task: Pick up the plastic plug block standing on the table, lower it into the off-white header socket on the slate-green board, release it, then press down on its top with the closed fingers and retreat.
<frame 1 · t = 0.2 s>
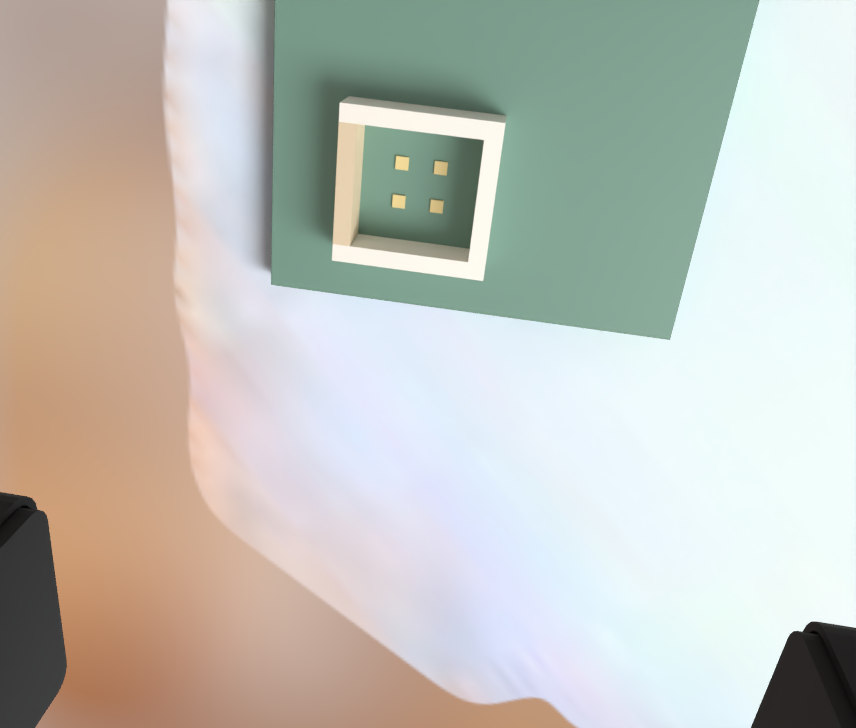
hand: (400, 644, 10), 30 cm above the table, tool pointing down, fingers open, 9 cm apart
board: (490, 144, 37), on the table
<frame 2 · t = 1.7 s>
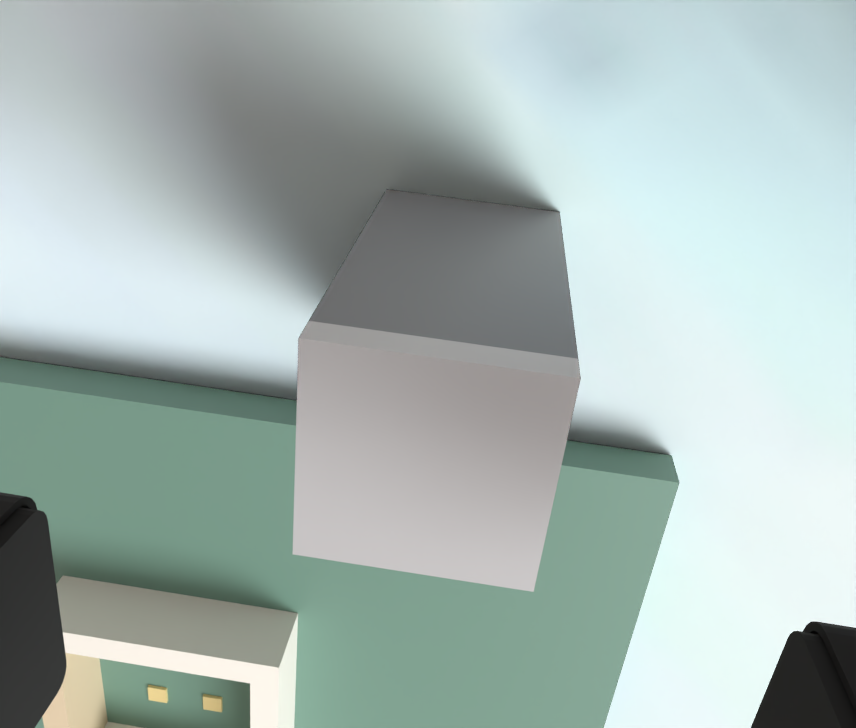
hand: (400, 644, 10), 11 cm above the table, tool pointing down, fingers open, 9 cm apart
board: (289, 618, 25), on the table
plug: (462, 281, 19), on the table
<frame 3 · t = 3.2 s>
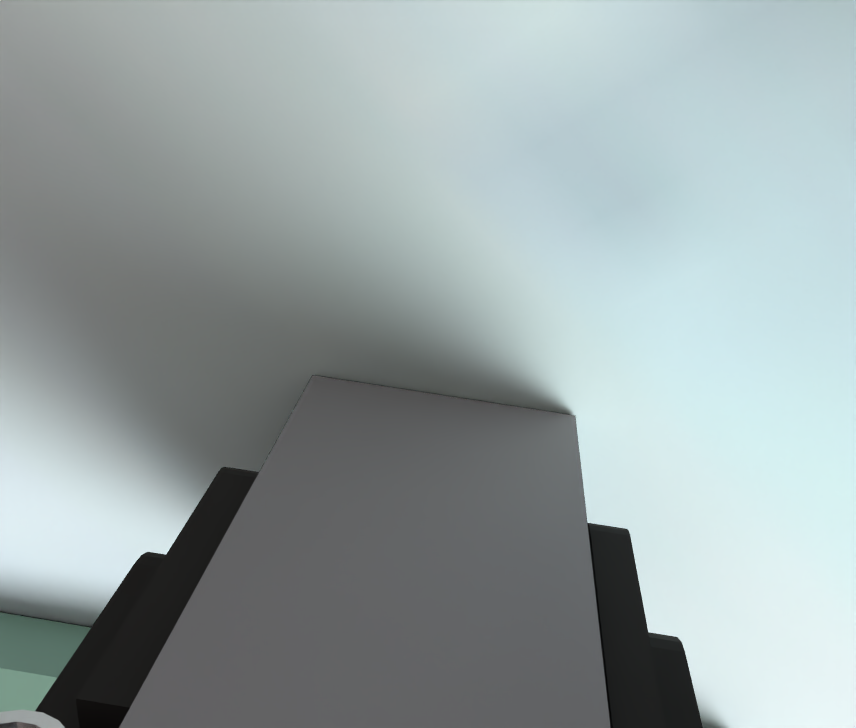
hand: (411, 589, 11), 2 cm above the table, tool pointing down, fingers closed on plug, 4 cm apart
plug: (427, 503, 13), on the table, touching gripper
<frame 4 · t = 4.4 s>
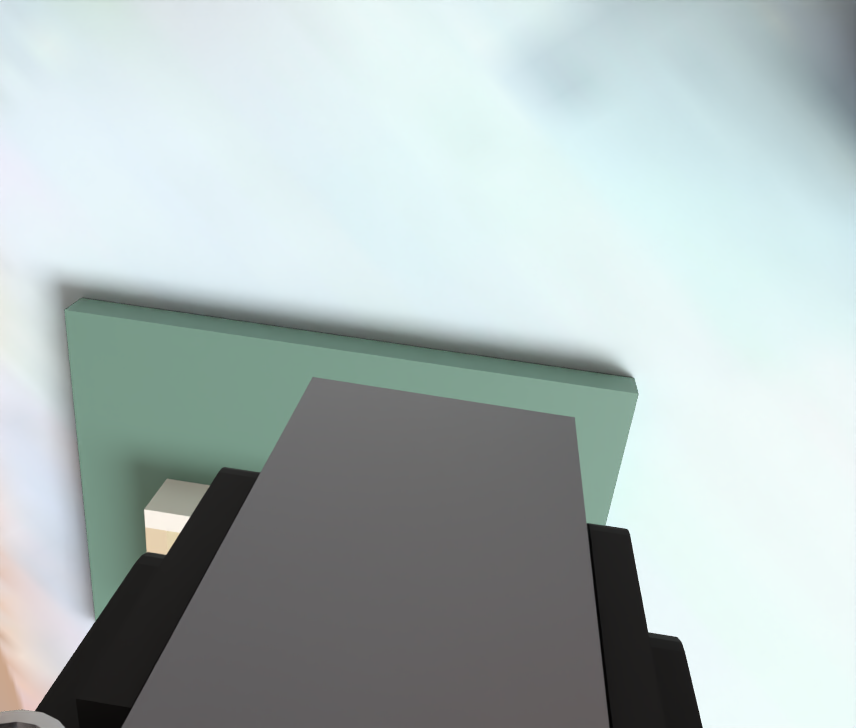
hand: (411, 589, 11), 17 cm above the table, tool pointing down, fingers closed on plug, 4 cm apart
board: (339, 519, 32), on the table
plug: (427, 504, 13), point 15 cm above the table, touching gripper
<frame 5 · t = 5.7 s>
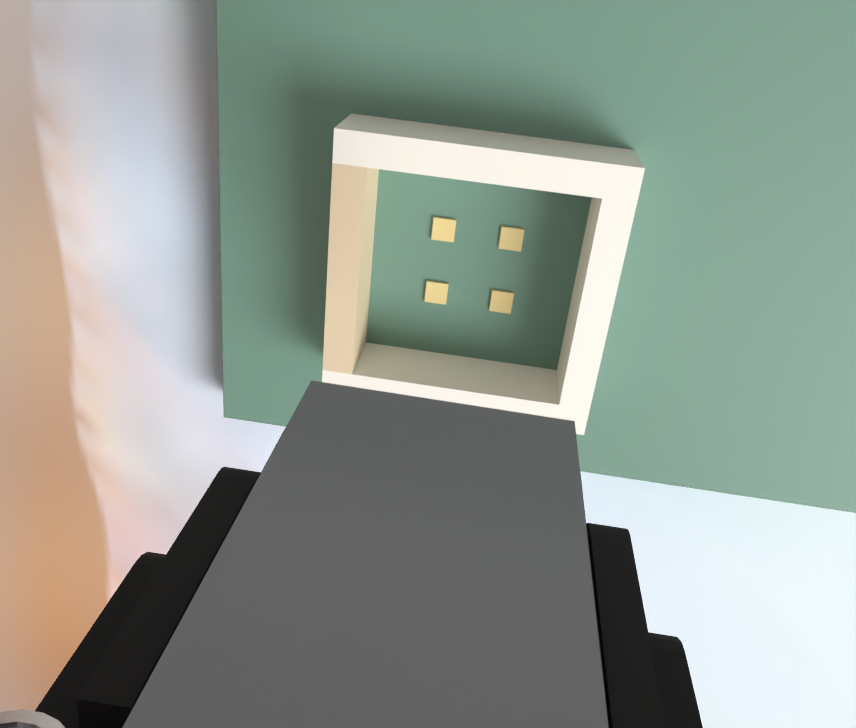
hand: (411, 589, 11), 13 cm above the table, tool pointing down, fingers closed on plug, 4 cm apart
board: (596, 195, 21), on the table
plug: (426, 508, 13), point 11 cm above the table, touching gripper
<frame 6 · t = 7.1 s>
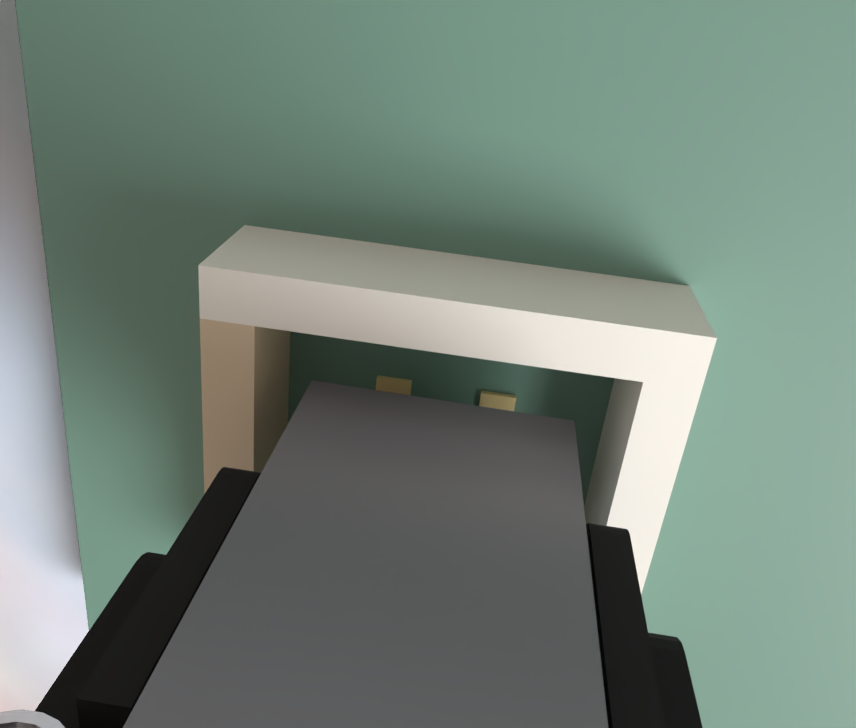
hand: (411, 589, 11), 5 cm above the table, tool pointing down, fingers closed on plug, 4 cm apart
board: (624, 339, 14), on the table
plug: (426, 508, 13), point 3 cm above the table, touching gripper
when the fingers open (4 cm above the table, at t = 7.6 s): plug stays where it is, resting on board.
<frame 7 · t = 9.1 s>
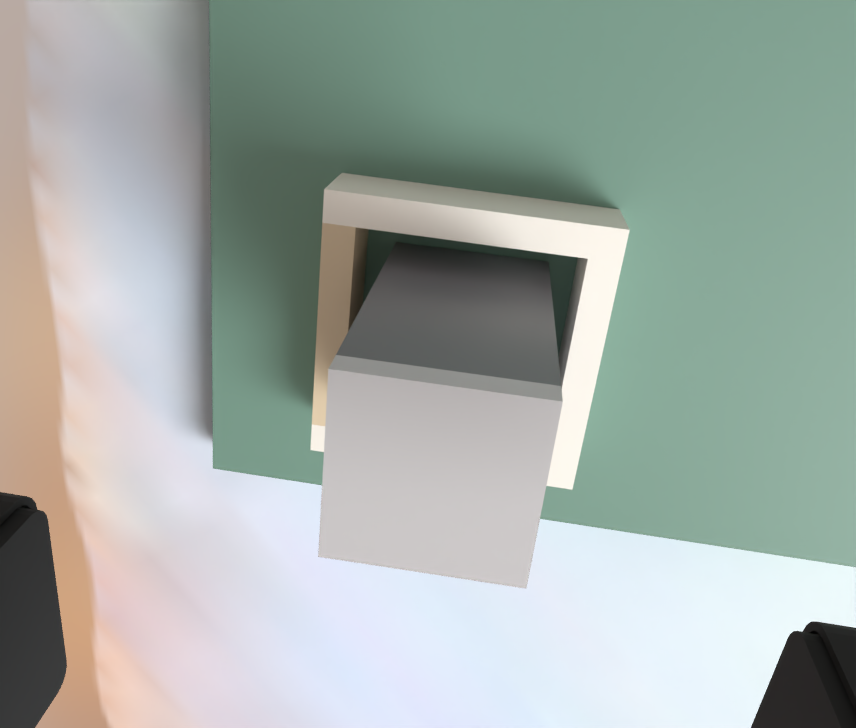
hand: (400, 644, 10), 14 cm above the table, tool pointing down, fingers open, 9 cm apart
board: (582, 252, 22), on the table
plug: (462, 322, 21), point 1 cm above the table, touching board
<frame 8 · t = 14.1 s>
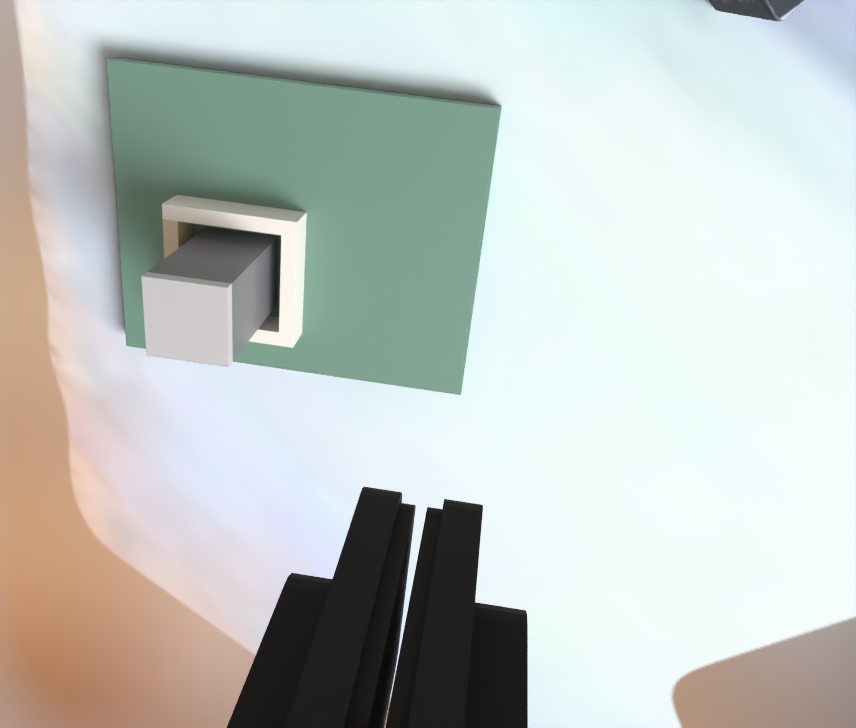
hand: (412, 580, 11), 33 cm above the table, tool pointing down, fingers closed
board: (301, 232, 44), on the table
plug: (241, 267, 44), point 1 cm above the table, touching board
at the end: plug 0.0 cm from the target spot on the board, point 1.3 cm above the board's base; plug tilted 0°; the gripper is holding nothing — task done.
